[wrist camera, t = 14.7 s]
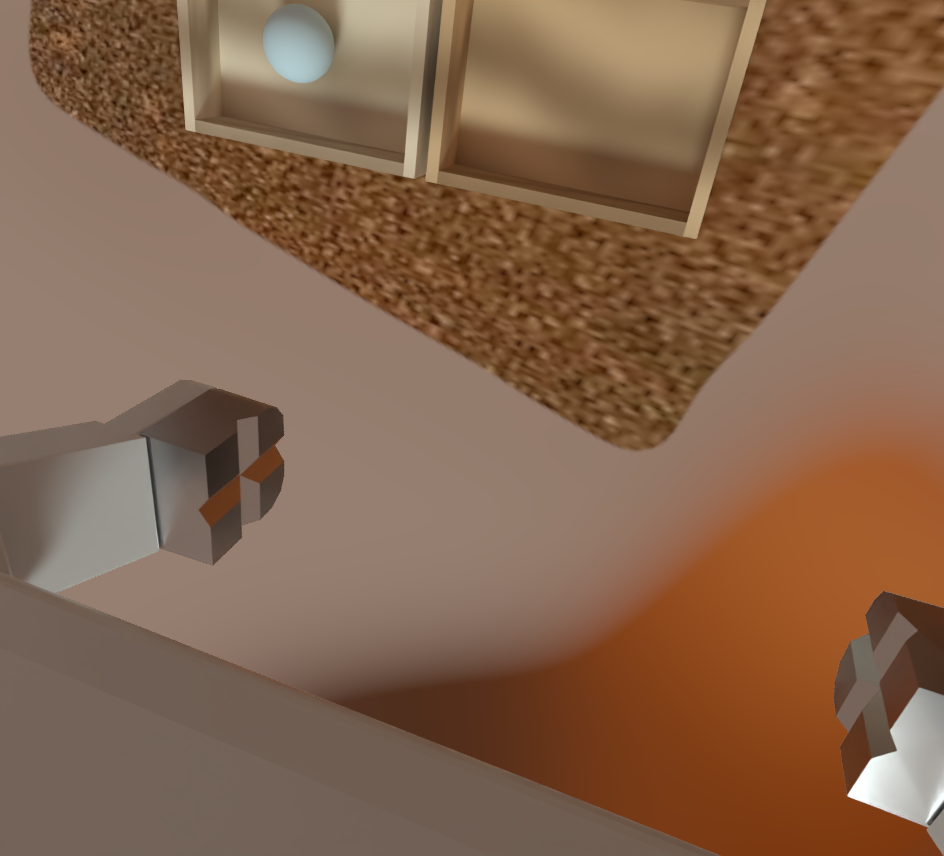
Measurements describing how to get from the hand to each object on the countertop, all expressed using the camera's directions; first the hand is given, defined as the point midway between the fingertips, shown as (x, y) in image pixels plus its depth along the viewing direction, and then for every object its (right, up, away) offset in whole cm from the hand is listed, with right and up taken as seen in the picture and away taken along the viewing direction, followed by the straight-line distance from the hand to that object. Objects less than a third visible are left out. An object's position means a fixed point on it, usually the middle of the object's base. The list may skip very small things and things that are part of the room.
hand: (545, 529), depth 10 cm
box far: (-8, +21, +27) cm, 35 cm away
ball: (-9, +20, +26) cm, 35 cm away
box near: (+5, +17, +24) cm, 30 cm away
